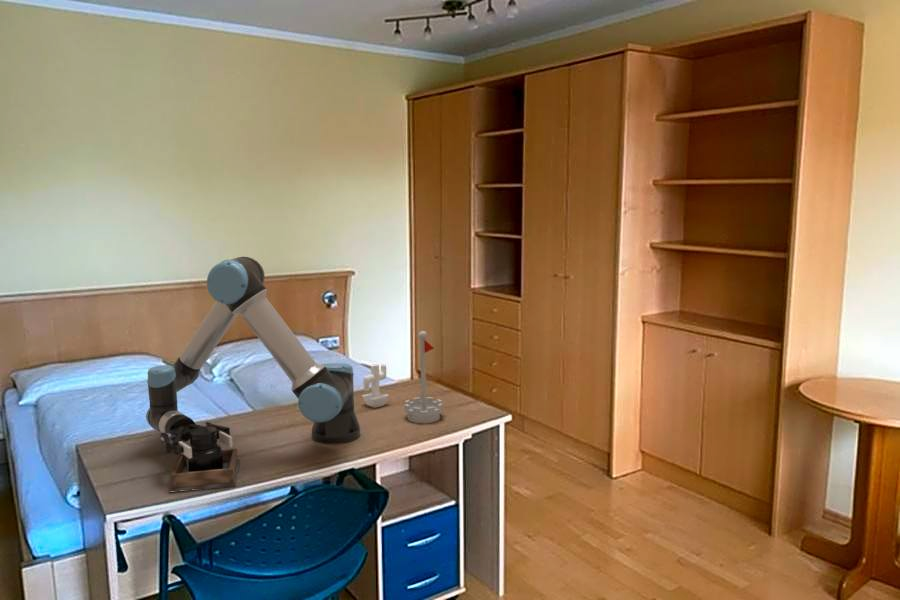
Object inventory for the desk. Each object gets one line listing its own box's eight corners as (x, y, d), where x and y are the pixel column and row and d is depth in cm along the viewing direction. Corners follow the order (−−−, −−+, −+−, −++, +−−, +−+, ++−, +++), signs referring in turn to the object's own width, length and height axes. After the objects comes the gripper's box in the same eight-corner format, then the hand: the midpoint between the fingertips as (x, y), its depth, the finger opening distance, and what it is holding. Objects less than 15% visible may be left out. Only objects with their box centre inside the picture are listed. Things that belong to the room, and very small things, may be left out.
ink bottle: (208, 464, 185) (205, 422, 183) (231, 469, 181) (229, 427, 179) (179, 477, 176) (176, 433, 175) (203, 483, 172) (200, 439, 171)
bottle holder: (239, 462, 188) (238, 447, 188) (235, 486, 173) (234, 469, 172) (179, 468, 185) (178, 453, 184) (169, 493, 169) (168, 476, 169)
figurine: (359, 405, 239) (357, 365, 237) (379, 400, 246) (378, 360, 243) (371, 410, 234) (370, 368, 232) (392, 404, 240) (391, 364, 238)
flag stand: (396, 418, 225) (394, 331, 221) (423, 409, 235) (422, 325, 230) (424, 427, 217) (423, 336, 212) (450, 417, 226) (450, 330, 222)
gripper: (216, 429, 199) (252, 449, 183) (136, 450, 183) (168, 473, 167) (215, 405, 197) (250, 423, 181) (134, 423, 182) (165, 445, 166)
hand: (211, 447), depth 174 cm, fingers open, 10 cm apart
